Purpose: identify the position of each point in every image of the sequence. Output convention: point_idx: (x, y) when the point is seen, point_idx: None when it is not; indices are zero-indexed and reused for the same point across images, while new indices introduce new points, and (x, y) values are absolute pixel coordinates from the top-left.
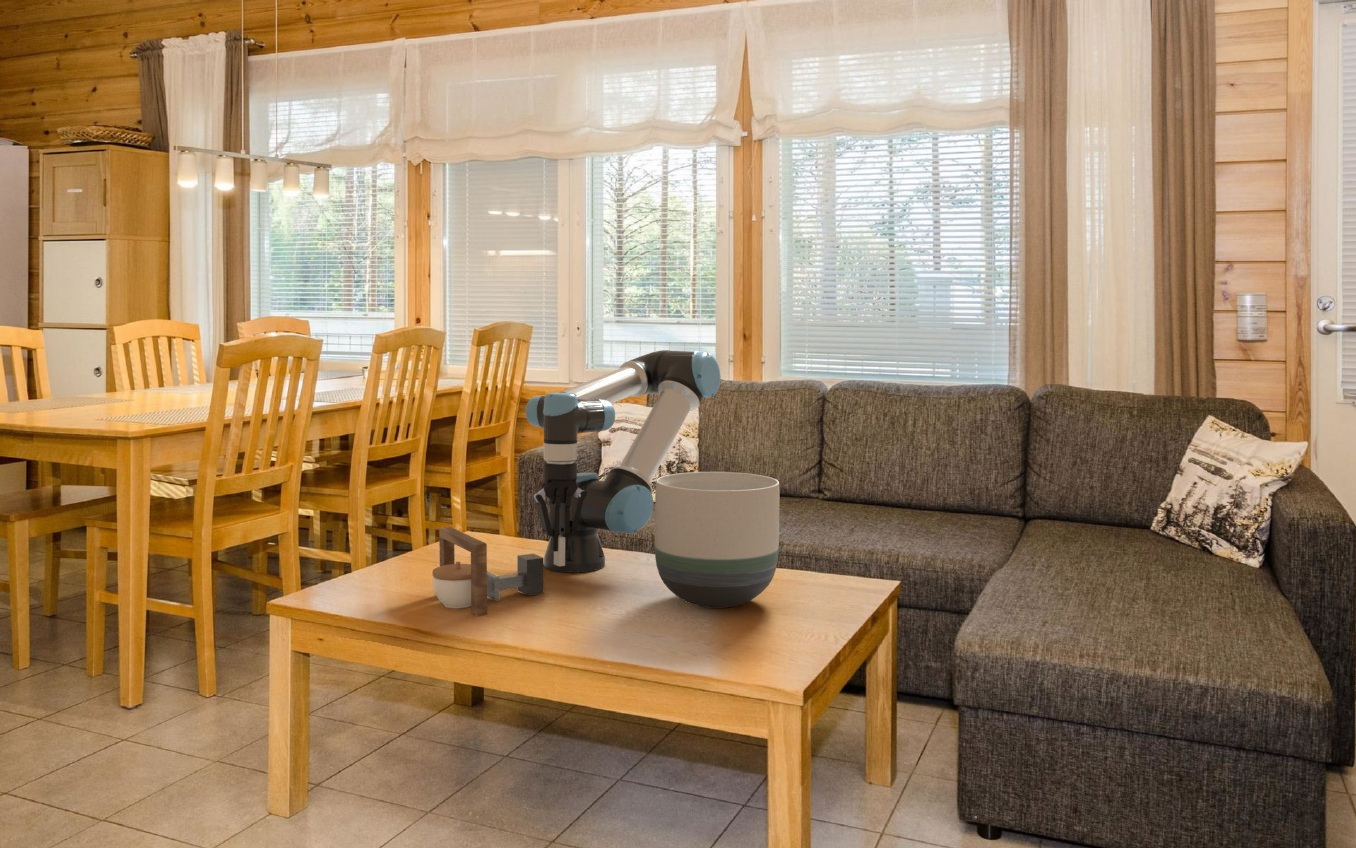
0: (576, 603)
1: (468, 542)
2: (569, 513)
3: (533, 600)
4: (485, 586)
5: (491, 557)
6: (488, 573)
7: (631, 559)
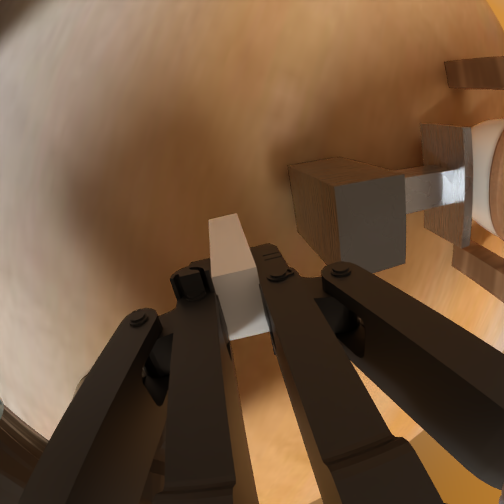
0: (214, 44)
1: None
2: (168, 423)
3: (327, 123)
4: (494, 57)
5: (285, 466)
6: (470, 186)
7: (32, 413)
